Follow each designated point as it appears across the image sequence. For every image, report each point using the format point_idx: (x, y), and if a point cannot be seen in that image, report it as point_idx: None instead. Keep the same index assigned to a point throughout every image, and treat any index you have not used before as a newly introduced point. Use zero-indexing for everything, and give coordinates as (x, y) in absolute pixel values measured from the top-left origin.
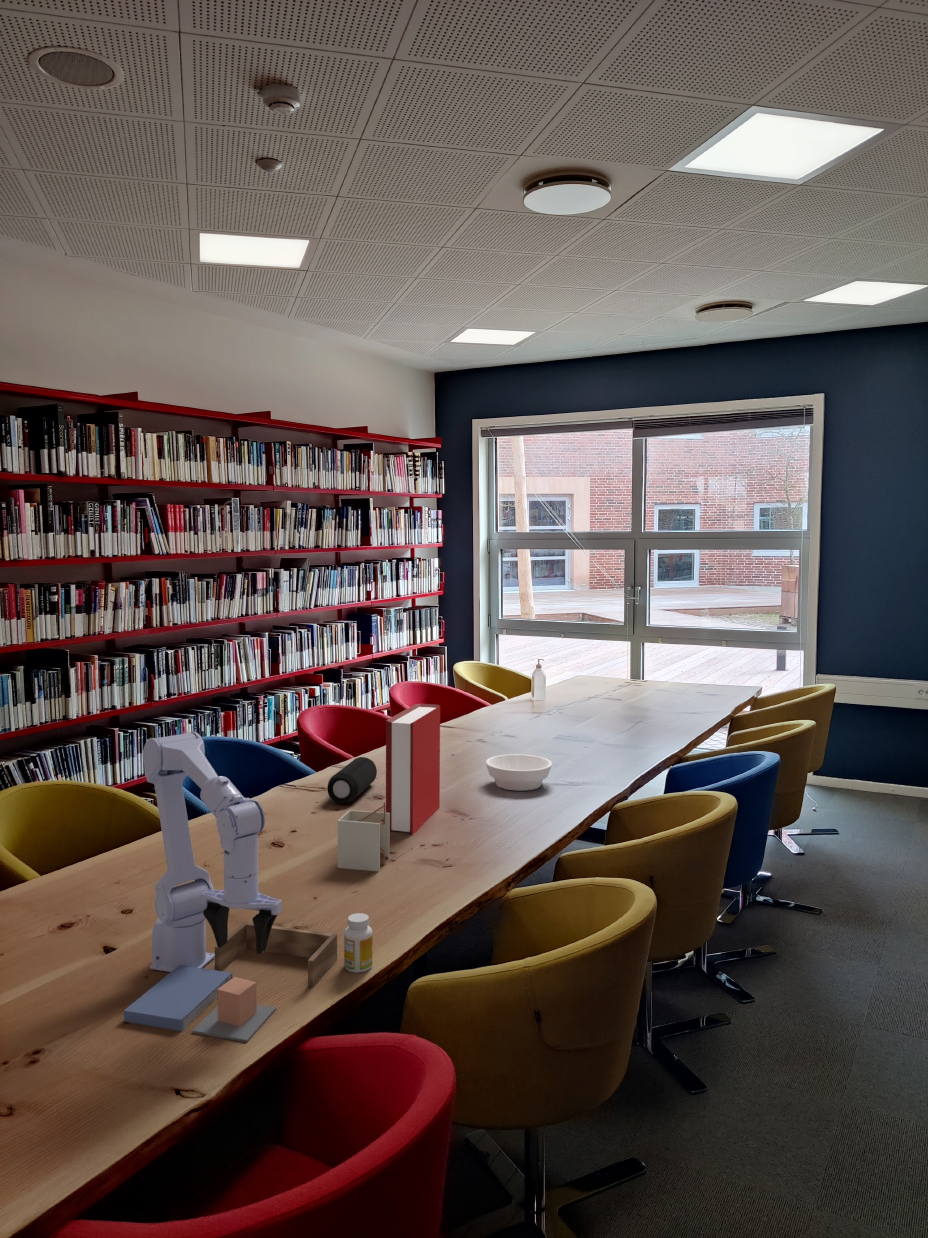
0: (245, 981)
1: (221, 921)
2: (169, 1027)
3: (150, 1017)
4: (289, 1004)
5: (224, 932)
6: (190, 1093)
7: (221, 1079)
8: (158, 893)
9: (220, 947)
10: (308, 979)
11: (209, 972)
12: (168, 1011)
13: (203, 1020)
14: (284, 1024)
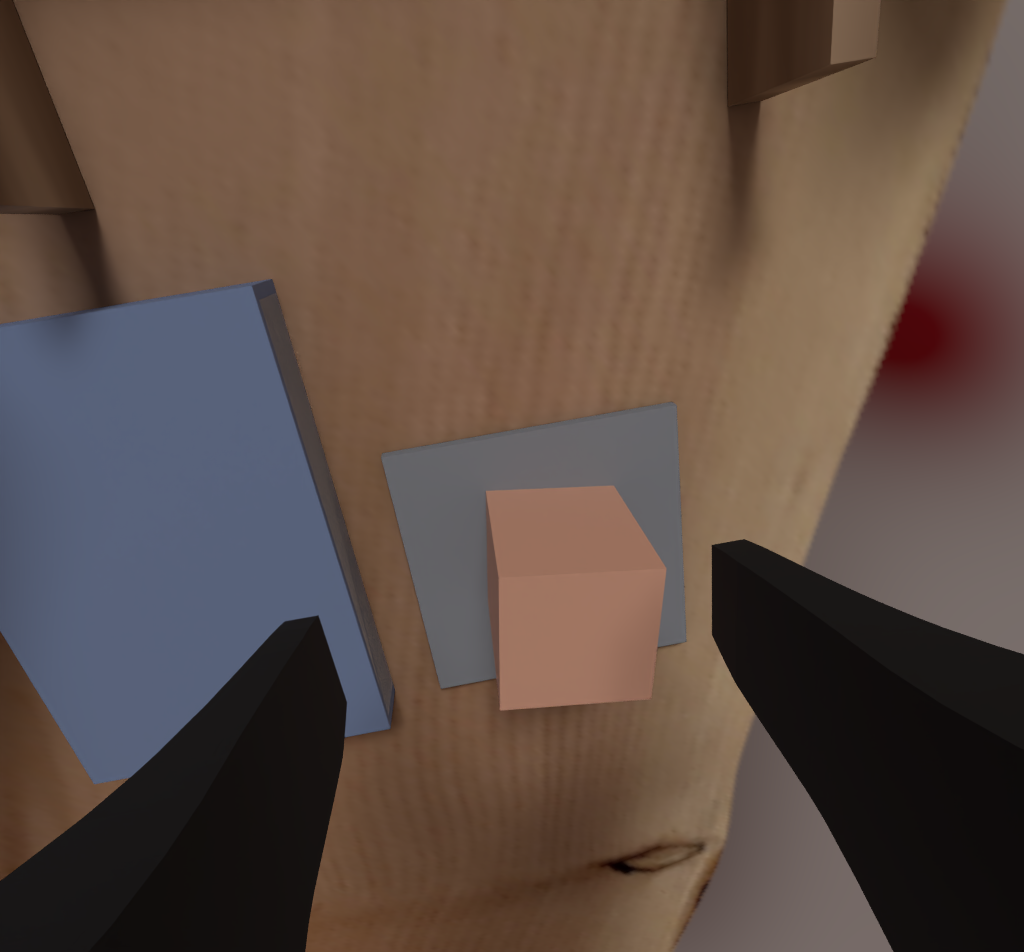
0: (598, 590)
1: (258, 950)
2: None
3: None
4: (709, 326)
5: (294, 738)
6: (659, 857)
7: (709, 789)
8: None
9: (344, 706)
10: (753, 95)
11: (111, 347)
12: None
13: (428, 625)
14: (765, 478)
